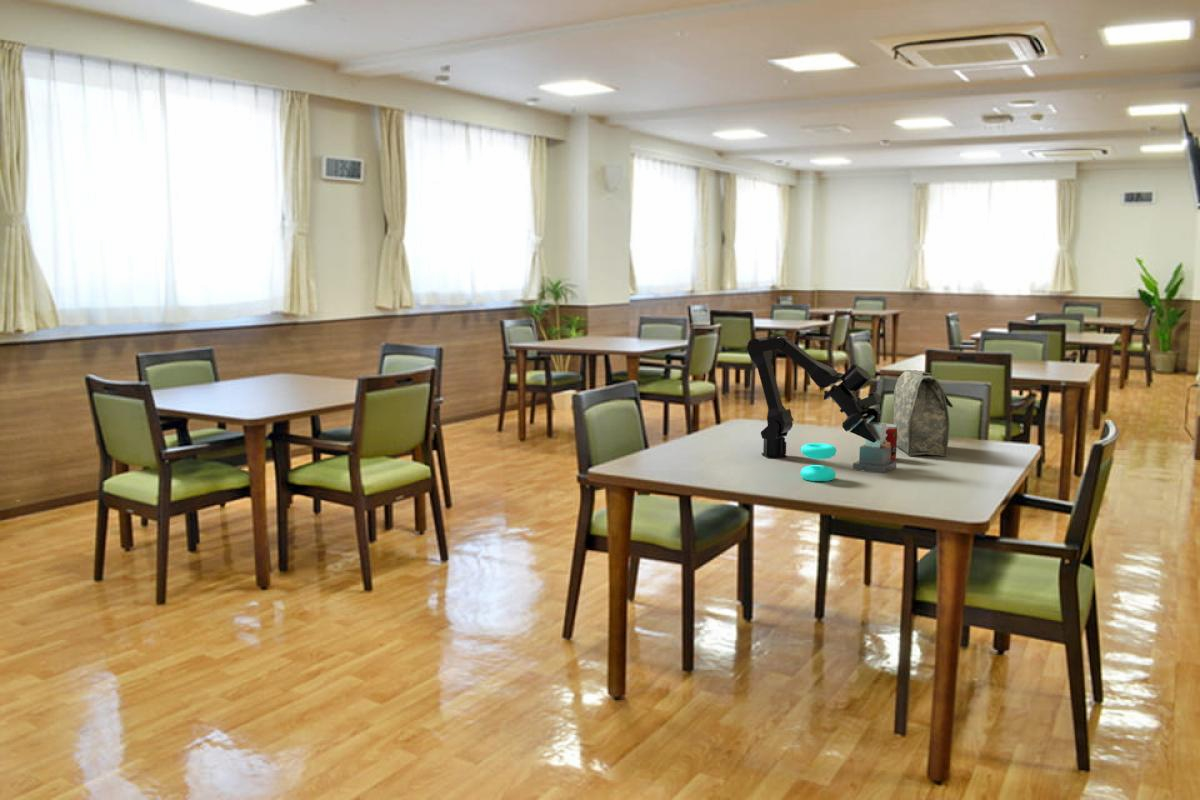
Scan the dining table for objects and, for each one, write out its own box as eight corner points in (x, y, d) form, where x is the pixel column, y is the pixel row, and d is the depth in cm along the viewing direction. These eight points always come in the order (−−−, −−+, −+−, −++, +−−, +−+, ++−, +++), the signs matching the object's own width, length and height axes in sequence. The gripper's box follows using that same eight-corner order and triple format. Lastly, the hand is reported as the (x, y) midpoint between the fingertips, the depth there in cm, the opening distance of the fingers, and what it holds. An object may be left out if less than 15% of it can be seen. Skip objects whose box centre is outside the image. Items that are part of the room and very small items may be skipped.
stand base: (852, 469, 297) (853, 442, 296) (864, 464, 305) (865, 437, 304) (884, 473, 291) (886, 445, 290) (896, 467, 299) (897, 440, 298)
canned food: (897, 461, 309) (898, 427, 307) (871, 460, 311) (872, 426, 309) (894, 457, 316) (896, 423, 315) (869, 456, 318) (870, 422, 316)
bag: (954, 457, 316) (958, 373, 313) (904, 456, 317) (908, 373, 313) (933, 444, 339) (937, 366, 335) (887, 444, 339) (890, 366, 335)
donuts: (808, 441, 289) (841, 444, 284) (807, 474, 291) (839, 477, 285) (796, 446, 281) (829, 449, 276) (795, 480, 282) (828, 484, 277)
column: (865, 462, 297) (866, 423, 296) (870, 459, 301) (871, 421, 299) (881, 464, 294) (882, 425, 293) (886, 461, 298) (888, 423, 296)
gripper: (853, 387, 289) (888, 427, 284) (876, 381, 304) (909, 419, 299) (827, 411, 295) (861, 450, 290) (851, 404, 310) (883, 441, 305)
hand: (880, 439), depth 296 cm, fingers open, 8 cm apart
